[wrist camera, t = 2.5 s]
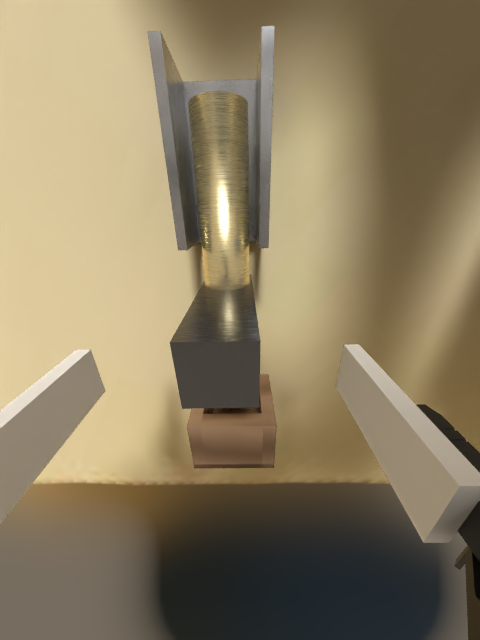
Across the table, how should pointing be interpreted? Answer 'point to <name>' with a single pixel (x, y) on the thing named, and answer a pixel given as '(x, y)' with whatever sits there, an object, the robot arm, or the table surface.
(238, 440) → the brown boxy piece
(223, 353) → the hammer
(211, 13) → the table surface
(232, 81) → the aluminum u-channel
